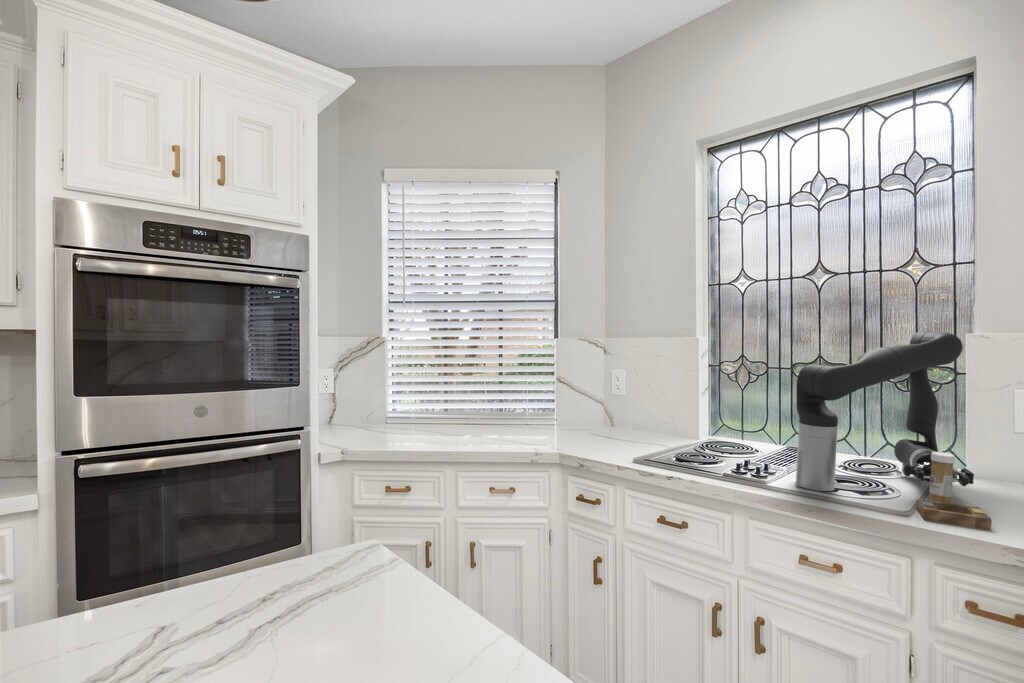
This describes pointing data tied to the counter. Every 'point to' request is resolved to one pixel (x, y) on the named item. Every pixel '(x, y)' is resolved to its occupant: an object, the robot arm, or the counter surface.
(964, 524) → the socket block
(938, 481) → the sprinkles bottle
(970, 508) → the brass tag
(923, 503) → the slate tag
